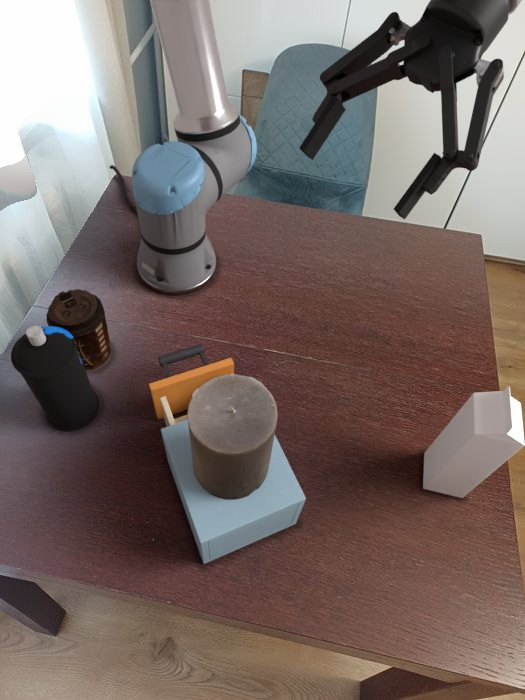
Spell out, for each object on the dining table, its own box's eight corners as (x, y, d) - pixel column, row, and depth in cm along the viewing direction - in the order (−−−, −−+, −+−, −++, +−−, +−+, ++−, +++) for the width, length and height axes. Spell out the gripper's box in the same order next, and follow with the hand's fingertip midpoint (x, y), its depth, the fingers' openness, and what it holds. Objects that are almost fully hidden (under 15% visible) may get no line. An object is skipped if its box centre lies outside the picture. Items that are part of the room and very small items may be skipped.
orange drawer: (145, 383, 81) (137, 352, 73) (218, 360, 84) (217, 328, 77) (185, 498, 70) (181, 475, 63) (266, 466, 74) (271, 440, 67)
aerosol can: (87, 436, 76) (50, 364, 59) (36, 425, 76) (-15, 350, 60) (107, 391, 80) (78, 312, 64) (59, 381, 81) (18, 300, 65)
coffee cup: (72, 333, 87) (51, 282, 76) (120, 335, 87) (106, 284, 76) (61, 375, 82) (37, 327, 71) (112, 377, 82) (96, 329, 71)
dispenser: (167, 461, 74) (160, 428, 65) (252, 429, 78) (256, 395, 69) (203, 564, 66) (200, 543, 57) (295, 523, 70) (306, 498, 61)
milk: (422, 489, 74) (484, 422, 56) (423, 452, 78) (482, 378, 60) (463, 498, 74) (539, 434, 56) (462, 461, 77) (534, 389, 59)
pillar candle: (251, 512, 60) (259, 464, 48) (179, 481, 62) (168, 427, 49) (280, 444, 65) (293, 385, 53) (212, 417, 67) (210, 354, 55)
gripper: (593, 65, 48) (448, 250, 53) (389, -21, 57) (285, 144, 63) (604, 16, 41) (438, 234, 47) (371, -71, 51) (257, 118, 56)
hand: (350, 183), depth 55 cm, fingers open, 13 cm apart
